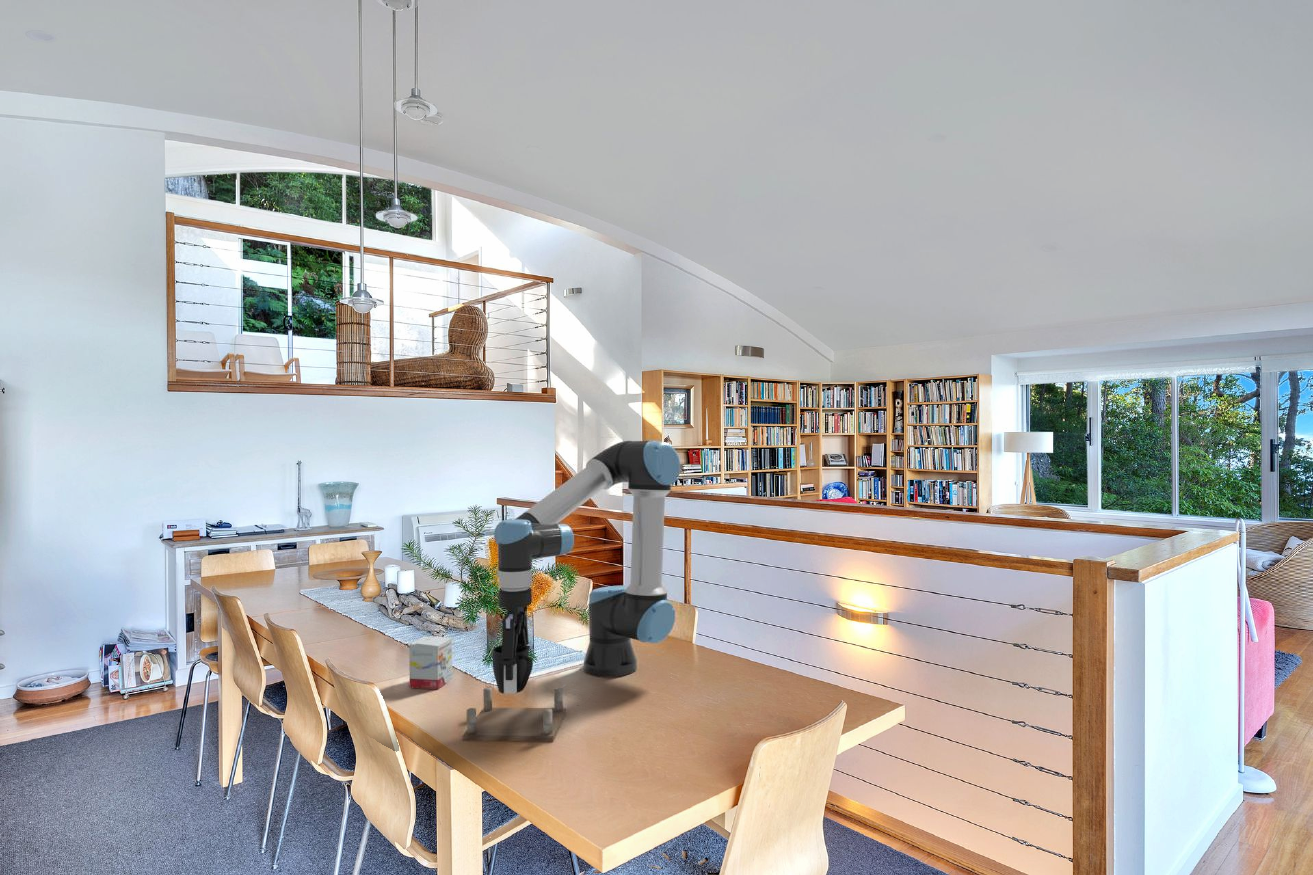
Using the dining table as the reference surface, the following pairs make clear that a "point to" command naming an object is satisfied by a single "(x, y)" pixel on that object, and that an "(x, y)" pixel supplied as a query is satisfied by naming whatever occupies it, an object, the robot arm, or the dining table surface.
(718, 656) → the dining table surface
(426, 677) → the ink box
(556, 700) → the brown board with pegs
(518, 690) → the mug
